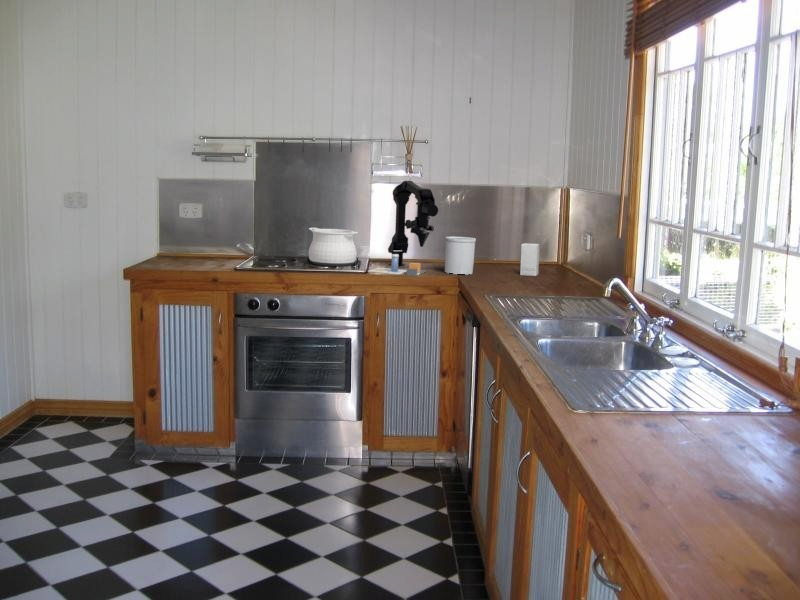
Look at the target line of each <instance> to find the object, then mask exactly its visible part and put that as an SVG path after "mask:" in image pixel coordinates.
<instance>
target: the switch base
mask: <svg viewBox="0 0 800 600" xmlns="http://www.w3.org/2000/svg"><path fill="white" fill-rule="evenodd" d="M406 270H407V272H406V276H414V277H417V275H418V276H419V274H420V275H422V274H421V273H423V274H425V273H424V272H426V273H427V271H426V270H424V269H420V272H418V273H417V269H409V268H406Z"/></svg>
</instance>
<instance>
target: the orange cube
mask: <svg viewBox="0 0 800 600" xmlns="http://www.w3.org/2000/svg"><path fill="white" fill-rule="evenodd" d="M421 265H422V264H421V263H420V262H410V263H409V264H408V269H417V273H418V272H420V270H421Z"/></svg>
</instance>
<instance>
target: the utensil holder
mask: <svg viewBox="0 0 800 600" xmlns="http://www.w3.org/2000/svg"><path fill="white" fill-rule="evenodd" d="M476 241H477V239H476V238H475V237H468V236H467V237H466V236H445V251H444V253H445V255H444V257H445V259H444V273H445V272H446V274H449V273H453V274H452V275H457V274H465V276H466V275H469V274H470V275H473V271H474V264H475V251H476V250H475V249H476V243H477V242H476Z"/></svg>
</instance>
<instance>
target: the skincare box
mask: <svg viewBox="0 0 800 600" xmlns="http://www.w3.org/2000/svg"><path fill="white" fill-rule="evenodd" d="M520 249H521V250H520V271H519V272H520V274H519V275H520V276H528V277H529V276H530V277H536V276H538V275H539V268H540V267H539V265H540V243H529V242H528V243H522V244H521V245H520Z"/></svg>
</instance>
